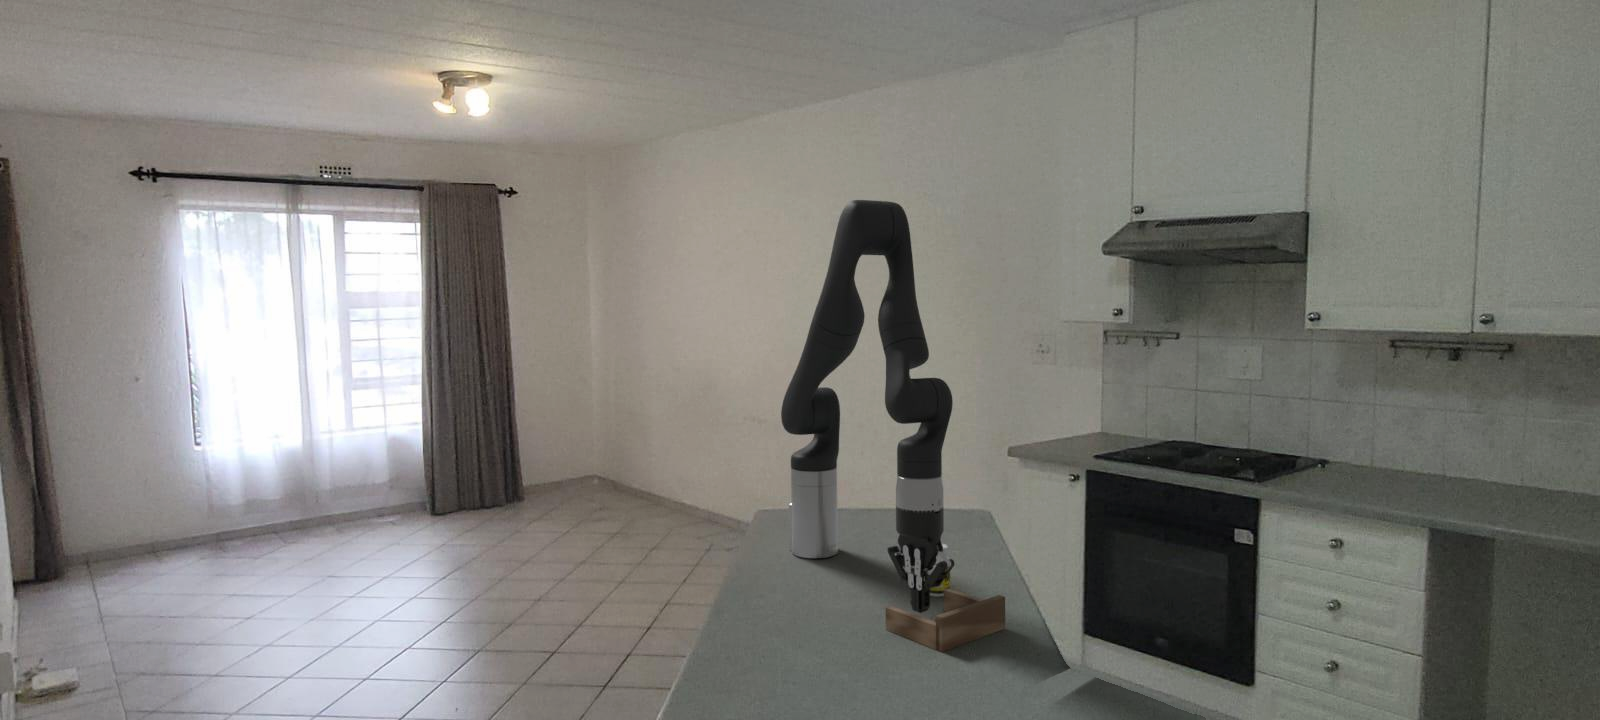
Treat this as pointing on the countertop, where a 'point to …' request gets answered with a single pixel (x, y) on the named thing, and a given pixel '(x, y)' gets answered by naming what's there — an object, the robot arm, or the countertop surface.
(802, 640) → the countertop surface
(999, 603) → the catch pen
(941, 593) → the supplement bottle
